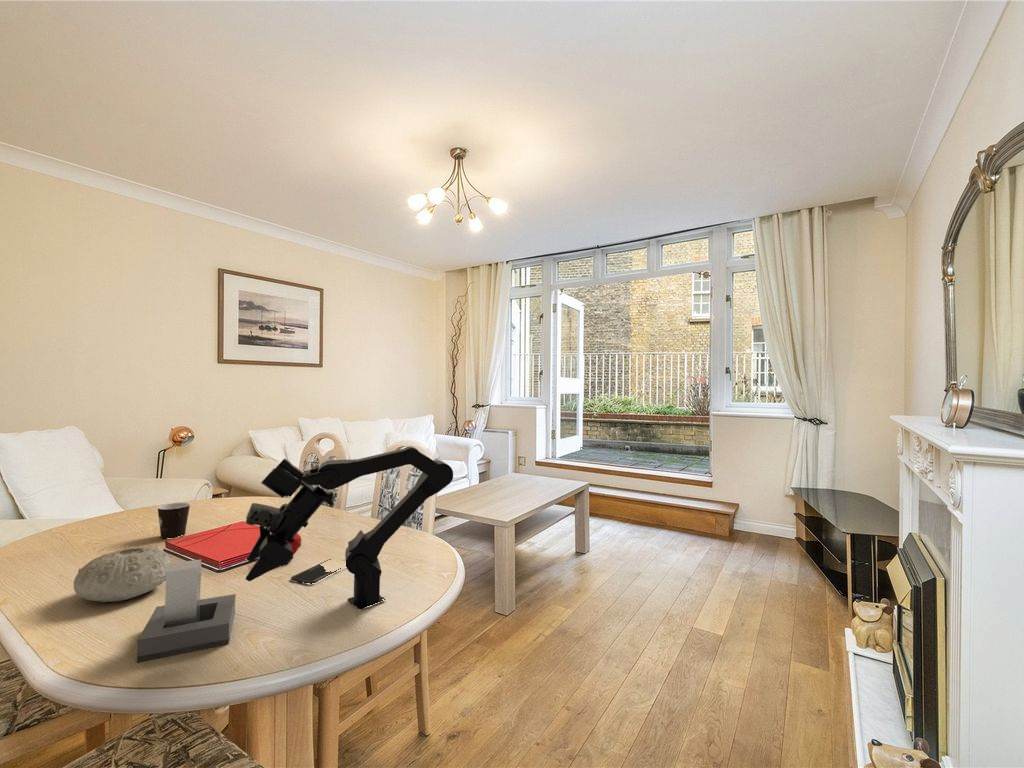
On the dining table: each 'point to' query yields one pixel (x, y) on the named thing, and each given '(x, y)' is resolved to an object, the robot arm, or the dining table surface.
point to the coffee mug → (173, 519)
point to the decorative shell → (122, 574)
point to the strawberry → (295, 543)
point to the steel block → (182, 593)
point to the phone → (312, 574)
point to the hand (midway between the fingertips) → (248, 569)
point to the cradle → (188, 630)
